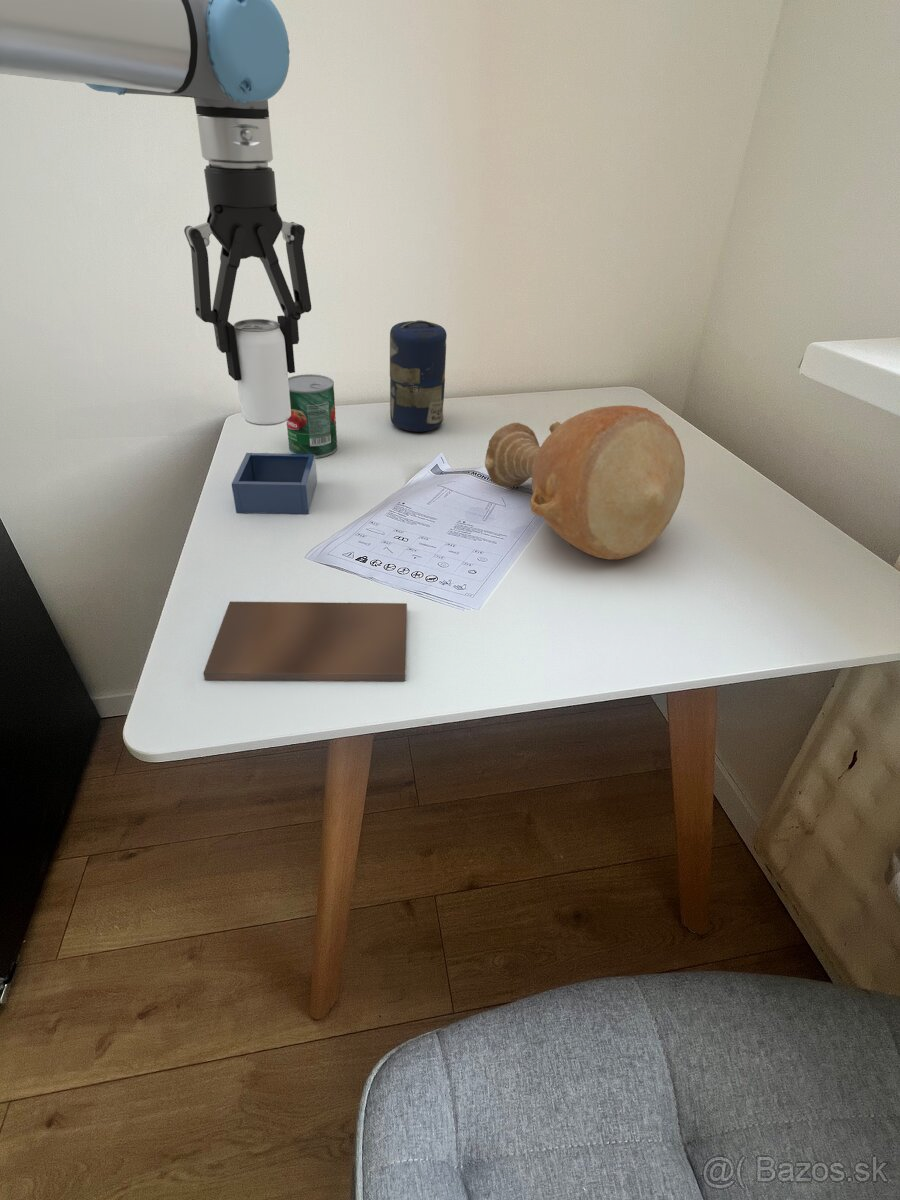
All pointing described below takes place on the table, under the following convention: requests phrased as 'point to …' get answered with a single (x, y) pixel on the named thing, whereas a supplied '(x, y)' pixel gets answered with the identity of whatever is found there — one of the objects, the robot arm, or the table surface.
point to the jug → (597, 476)
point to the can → (262, 372)
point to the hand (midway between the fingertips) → (262, 373)
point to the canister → (417, 375)
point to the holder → (275, 483)
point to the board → (310, 642)
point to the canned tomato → (312, 415)
